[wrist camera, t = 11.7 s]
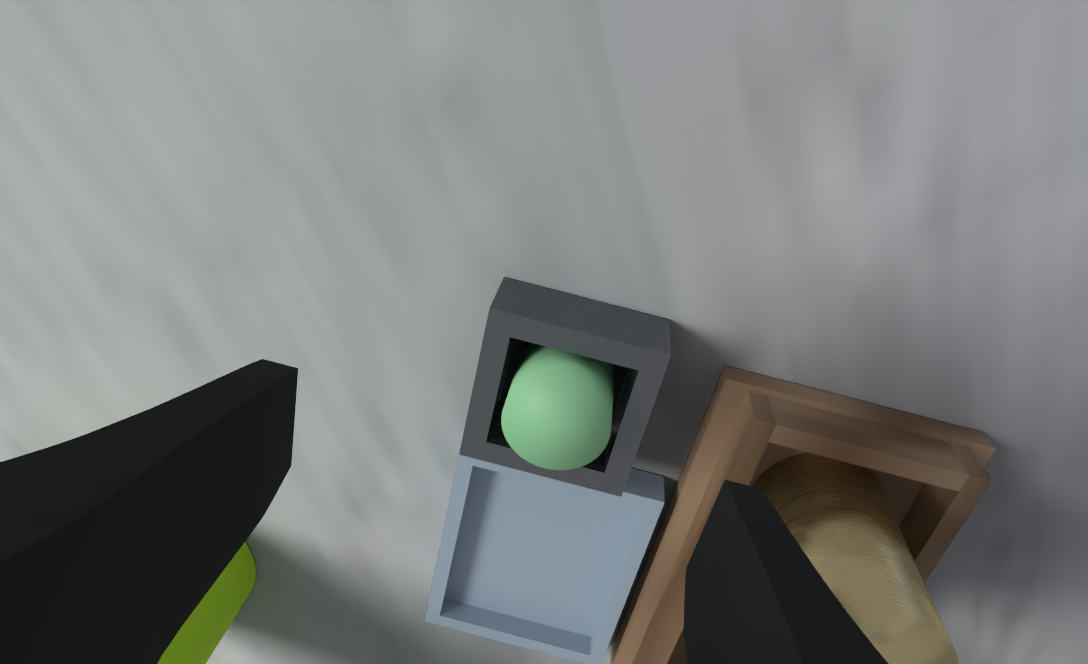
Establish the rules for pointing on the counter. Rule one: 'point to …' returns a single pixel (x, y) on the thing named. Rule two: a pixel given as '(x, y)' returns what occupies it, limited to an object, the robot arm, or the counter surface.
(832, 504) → the cylinder
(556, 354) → the button
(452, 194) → the counter surface
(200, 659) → the soap dispenser
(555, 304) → the button housing
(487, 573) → the light blue shallow tray
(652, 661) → the wooden tray
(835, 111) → the counter surface
